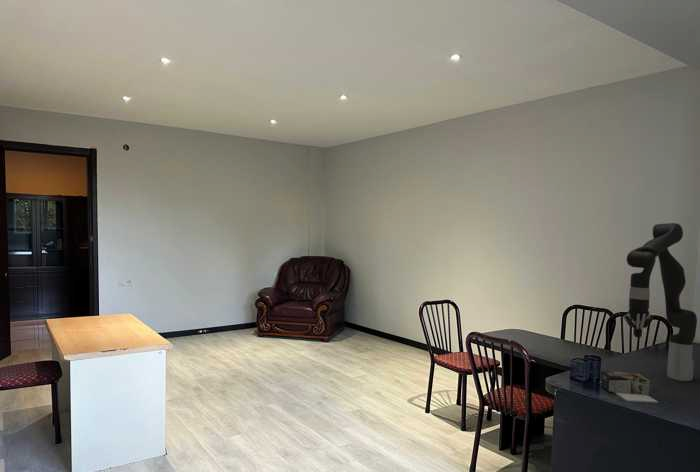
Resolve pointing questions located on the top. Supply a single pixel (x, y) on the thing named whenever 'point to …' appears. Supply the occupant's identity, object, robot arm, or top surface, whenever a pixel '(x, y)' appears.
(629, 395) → the mat
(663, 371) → the top surface
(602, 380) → the coffee box
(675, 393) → the top surface
